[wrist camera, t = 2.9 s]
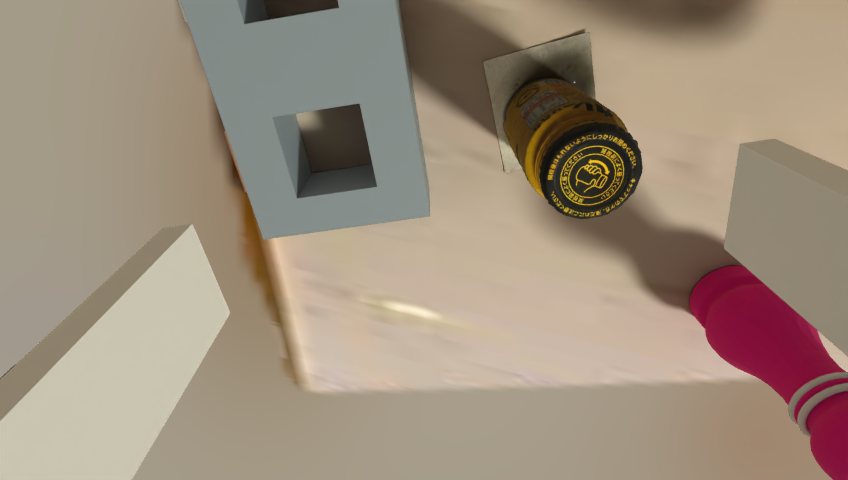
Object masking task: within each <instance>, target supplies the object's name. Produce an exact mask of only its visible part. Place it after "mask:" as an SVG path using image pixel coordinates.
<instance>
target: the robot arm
mask: <svg viewBox="0 0 848 480" xmlns="http://www.w3.org/2000/svg"><path fill="white" fill-rule="evenodd" d="M724 249H725V250H726V251H727V252H728V253H730V254H731V255H732V256H733V257H734V258H735V259H736V260H738V261H739V262H740V263H741V264H742V265H743V266H745V267H746V268H747V269H748V270H749V271H750V272H751V273H753V274H754V275H755V276H756V277H757V278H758V279H759V280H761V281H762V282H763V283H764V284H765V285H766V286H767V287H769V288H770V289H771V290H772V291H773V292H774V293H775V294H777V295H778V296H779V297H780V298H781V299H782V300H783V301H785V302H786V303H787V304H788V305H789V306H790V307H792V308H793V309H794V310H795V311H796V312H797V313H798V314H800V315H801V316H802V317H803V318H804V319H805V320H806V321H808V322H809V323H810V324H811V325H812V326H813V327H814V328H816V329H817V330H818V331H819V332H820V333H821V334H822V335H824V336H825V337H826V338H827V339H828V340H829V341H830V342H832V343H833V344H834V345H835V346H836V347H837V348H839V349H840V350H841V351H842V352H843V353H844V354H845V355H847V356H848V170H846V169H843V168H841V167H839V166H836V165H834V164H832V163H829V162H827V161H825V160H823V159H820V158H818V157H816V156H813V155H811V154H809V153H806V152H804V151H802V150H799V149H797V148H795V147H793V146H790V145H788V144H786V143H783V142H781V141H779V140H776V139H770V140H763V141H756V142H749V143H742V144H740V146H739V153H738V159H737V166H736V172H735V178H734V185H733V191H732V197H731V204H730V210H729V217H728V223H727V229H726V236H725V242H724ZM229 314H230V311H229V309H228V307H227V304H226V302H225V299H224V297H223V295H222V292H221V290H220V288H219V285H218V283H217V281H216V278H215V276H214V274H213V271H212V269H211V267H210V264H209V262H208V260H207V257H206V255H205V253H204V250H203V248H202V245H201V243H200V241H199V239H198V236H197V234H196V231H195V229H194V227H193V224H188V225H181V226H175V227H167V228H163V229H161V230H160V231H159V233H157V234H156V235H155V236H154V237H153V238H152V239H151V240H150V241H149V242H147V243H146V245H144V246H143V247H142V248H141V249H140V250H139V251H138V252H137V253H136V254H135V255H133V256H132V257H131V258H130V259H129V260H128V261H127V262H126V263H125V264H124V265H123V266H122V267H121V268H119V269H118V270H117V271H116V272H115V273H114V274H113V275H112V276H111V277H110V278H109V279H108V280H107V281H105V283H103V284H102V285H101V286H100V287H99V288H98V289H97V290H96V291H95V292H94V293H93V294H91V296H89V297H88V298H87V299H86V300H85V301H84V302H83V303H82V304H81V305H80V306H79V307H78V308H76V309H75V310H74V311H73V312H72V313H71V314H70V315H69V316H68V317H67V318H66V319H65V320H63V322H61V323H60V324H59V325H58V326H57V327H56V328H55V329H54V330H53V331H52V332H51V333H49V334H48V335H47V336H46V337H45V338H44V339H43V340H42V341H41V342H40V343H39V344H38V345H37V346H35V347H34V348H33V349H32V350H31V351H30V352H29V353H28V354H27V355H26V356H25V357H24V358H23V359H22V360H20V361H19V362H18V363H17V364H16V365H14V366H13V367H12V368H11V369H10V370H9V371H8V372H7V373H6V374H4V375H3V376H2V377H1V378H0V480H132V478H133V477H134V475H135V473H136V472H137V470H138V468H139V466H140V464H141V463H142V461H143V460H144V458H145V456H146V455H147V453H148V451H149V449H150V448H151V446H152V444H153V443H154V441H155V439H156V438H157V436H158V434H159V432H160V431H161V429H162V428H163V426H164V424H165V422H166V421H167V419H168V417H169V416H170V414H171V412H172V411H173V409H174V407H175V406H176V404H177V402H178V401H179V399H180V397H181V395H182V394H183V392H184V390H185V389H186V387H187V385H188V383H189V382H190V380H191V378H192V377H193V375H194V373H195V372H196V370H197V368H198V367H199V365H200V363H201V362H202V360H203V358H204V356H205V355H206V353H207V351H208V350H209V348H210V346H211V344H212V343H213V341H214V340H215V338H216V336H217V334H218V333H219V331H220V329H221V328H222V326H223V324H224V323H225V321H226V319H227V318H228V316H229Z"/></svg>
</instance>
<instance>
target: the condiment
mask: <svg viewBox="0 0 848 480" xmlns="http://www.w3.org/2000/svg"><path fill="white" fill-rule="evenodd" d="M483 64H484V69H485V74H486V79H487V84H488V89H489V94H490V99H491V104H492V110H493V115H494V120H495V125H496V130H497V135H498V140H499V145H500V150H501V155H502V160H503V165H504V170H505V173H508V172H512V171H516V170H520V169H523V171H524V173H525V175H526V177H527V180H528V181H529V182H530V184H531V185H532V187H533V188H534V189H535V190H536V191H537V193H539V194H540V195H541V196H543V197H544V198H546V199H547V200H548V203H549V204H551V205H552V206H553V207H554V208H555V209H556V210H557V211H559V212H560V213H562V214H564V215H566V216H570V217H574V218H579V219H587V218H593V217H600V216H603V215H607V214H609V213H610V212H611V211H613V210H615V209H617V208H618V207H620V206H621V205H622V204H623V203H624V202H625V201H626V200H627V199H628V198H629V197H630V196H631V195H632V194H633V193H634V191H635V189H636V186H637V184H638V181H639V179H640V177H641V174H642V159H641V151H640V150H639V148H638V143H637V141H636V140H633V137H632V136H631V134H630V133H628V131H627V128H626V127H625V125H624V123H623V122H622V120H621V119H620V118H619V117H618V116H617V115H616V114H615V113H614V112H612V111H611V110H609V109H608V108H606V107H605V106H603V105H602V104H600V103H599V102H598V101H596V99H595V84H594V76H593V66H592V54H591V42H590V32H587V33H583V34H580V35H576V36H572V37H568V38H565V39H561V40H557V41H554V42H550V43H546V44H543V45H539V46H536V47H532V48H528V49H524V50H521V51H518V52H515V53H511V54H507V55H503V56H500V57H497V58H493V59H490V60H486V61H483ZM518 79H521V80H520V83H519V84H517V81H518ZM574 81H575V82H576V83H573V82H574ZM516 85H517V86H518V87H517V89H514V87H515V86H516Z"/></svg>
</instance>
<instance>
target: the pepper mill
mask: <svg viewBox="0 0 848 480" xmlns="http://www.w3.org/2000/svg"><path fill="white" fill-rule="evenodd" d="M689 304H690V310H691V312H692V314H693V315H694V316H695V318H696V319H697V320H698V321H699V322H700V324H701V325H702V326H703V327H704V328H705V332H706V337H707V340H708V342H709V344H710V345H711V347H712V348H713V349H714V350H715V351H716V352H717V354H718V355H719V356H720V357H722V358H723V359H724V360H725V361H727V362H728V363H730V364H731V365H733V366H734V367H736V368H738V369H740V370H742V371H744V372H746V373H749V374H751V375H753V376H755V377H757V378H759V379H761V380H762V381H764V382H765V383H767V384H768V385H769V386H771V387H772V388H773V389H774V390H775V391H776V392H777V393H778V394H779V395H780V396H781V397H782V398H783V399H784V400H785V402H786V403H787V404H788V412H789V416H790V418H791V420H792V421H793V422H795V424H797V425H798V426H799V428H800V430H801V431H802V432H803V434H805V435H806V436H808V437H810V445H811V451H812V453H813V455H814V457H815V459H816V461H817V462H818V464H819V465H820V466H821V468H822V469H823V470H824V471H825V472H826V473H827V474H828V475H829V476H830V477H831V478H832V479H833V480H848V372H846V371H844V370H843V369H842V368H840V367H839V366H838V365H837V364H836V362H835V361H834V360H833V359H832V358H831V357H830V356H829V354H828V352H827V351H826V349H825V348H824V346H823V344H822V342H821V340H820V337H819V334H818V332H817V329H816V328H814V327H813V326H812V325H811V324H810V323H809V322H808V321H806V320H805V319H804V318H803V317H802V316H801V315H800V314H798V313H797V312H796V311H795V310H794V309H793V308H792V307H790V306H789V305H788V304H787V303H786V302H785V301H783V300H782V299H781V298H780V297H779V296H778V295H777V294H775V293H774V292H773V291H772V290H771V289H770V288H769V287H767V286H766V285H765V284H764V283H763V282H762V281H761V280H759V279H758V278H757V277H756V276H755V275H754V274H753V273H751V272H750V271H749V270H748V269H747V268H746V267H744V266H726V267H723V268H720V269H717V270H714V271H713V272H711V273H709V274H708V275H706V276H705V277H704V278H702V279H701V280H700V281H699V282H698V283H697V285H696V286H695V288H694V289H693V291H692V294H691V296H690V301H689Z"/></svg>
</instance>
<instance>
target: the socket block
mask: <svg viewBox="0 0 848 480" xmlns="http://www.w3.org/2000/svg"><path fill="white" fill-rule="evenodd" d="M177 1H178V4H179V7H180V10H181V13H182V16H183V18H184V21H185V23H188V26H189V28H190V31H191V34H192V37H193V40H194V43H195V45H196V48H197V51H198V54H199V57H200V60H201V63H202V65H203V68H204V71H205V74H206V77H207V80H208V82H209V85H210V88H211V91H212V94H213V97H214V100H215V102H216V105H217V108H218V111H219V114H220V117H221V119H222V122H223V125H224V128H225V131H223V132H224V134H225V137H226V140H227V143H228V146H229V149H230V151H231V154H232V157H233V160H234V163H235V165H236V168H237V171H238V174H239V177H240V180H241V182H242V185H243V188H244V191H245V193H248V196H249V199H250V202H251V205H252V208H253V211H254V213H255V216H256V219H257V222H258V225H259V228H260V230H261V233H262V236H263V239H271V238H278V237H285V236H292V235H299V234H306V233H314V232H321V231H328V230H335V229H342V228H349V227H357V226H364V225H371V224H378V223H385V222H392V221H400V220H407V219H414V218H421V217H428V216H430V197H429V184H428V178H427V172H426V165H425V159H424V153H423V147H422V140H421V134H420V128H419V121H418V115H417V109H416V103H415V96H414V90H413V84H412V78H411V71H410V65H409V59H408V52H407V46H406V40H405V34H404V27H403V21H402V15H401V8H400V2H399V0H338V5H339V7H336V8H330V9H324V10H318V11H312V12H307V13H301V14H295V15H289V16H284V17H278V18H272V19H269V17H268V14H267V10H266V6H265V3H264V0H177ZM353 104H360V108H361V113H362V118H363V122H364V127H365V132H366V136H367V141H368V146H369V151H370V155H371V160H372V164H371V165H364V166H358V167H351V168H344V169H338V170H331V171H324V172H317V173H312V172H311V168H310V165H309V161H308V158H307V154H306V150H305V147H304V143H303V140H302V136H301V132H300V129H299V125H298V122H297V118H296V113H302V112H308V111H315V110H321V109H327V108H334V107H340V106H346V105H353Z"/></svg>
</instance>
